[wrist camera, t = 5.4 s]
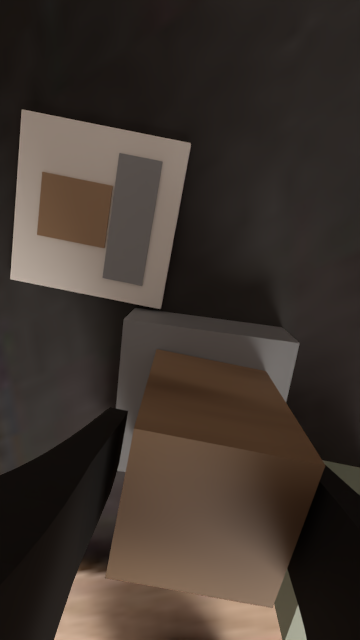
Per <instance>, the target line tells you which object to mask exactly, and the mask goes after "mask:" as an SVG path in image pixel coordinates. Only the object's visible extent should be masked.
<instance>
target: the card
mask: <svg viewBox="0 0 360 640" xmlns="http://www.w3.org/2000/svg"><path fill="white" fill-rule="evenodd" d="M190 149H191V143H188V142H183V141H178V140H173V139H168V138H163V137H158V136H153V135H148V134H143V133H138V132H133V131H128V130H123V129H118V128H113V127H108V126H103V125H98V124H93V123H88V122H83V121H78V120H73V119H68V118H63V117H58V116H53V115H48V114H43V113H38V112H33V111H28V110H23V109H22V112H21V127H20V142H19V157H18V172H17V187H16V202H15V217H14V232H13V246H12V261H11V276H10V279H12V280H17V281H22V282H27V283H32V284H37V285H42V286H47V287H52V288H57V289H62V290H67V291H72V292H77V293H82V294H87V295H92V296H97V297H102V298H107V299H112V300H117V301H122V302H127V303H132V304H137V305H142V306H147V307H152V308H157V309H161V307H162V301H163V296H164V290H165V285H166V279H167V274H168V269H169V263H170V258H171V252H172V247H173V241H174V236H175V230H176V225H177V220H178V214H179V209H180V203H181V198H182V192H183V187H184V181H185V176H186V171H187V165H188V160H189V154H190Z"/></svg>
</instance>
